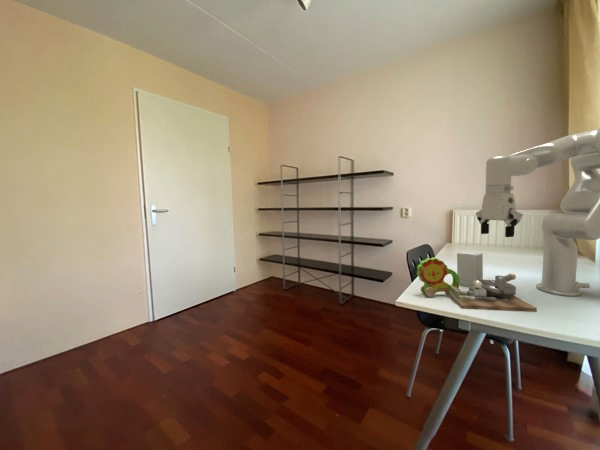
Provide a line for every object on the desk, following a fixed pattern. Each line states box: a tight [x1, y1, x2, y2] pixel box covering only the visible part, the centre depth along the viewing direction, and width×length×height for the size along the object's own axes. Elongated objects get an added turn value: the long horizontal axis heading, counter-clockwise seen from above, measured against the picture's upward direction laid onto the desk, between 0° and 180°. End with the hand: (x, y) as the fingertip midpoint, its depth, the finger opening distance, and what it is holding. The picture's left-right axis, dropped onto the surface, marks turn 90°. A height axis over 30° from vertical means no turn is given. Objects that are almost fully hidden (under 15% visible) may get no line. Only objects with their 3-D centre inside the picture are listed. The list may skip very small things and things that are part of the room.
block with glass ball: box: [468, 280, 486, 297], centre depth 94 cm, size 4×4×6 cm
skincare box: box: [456, 250, 484, 288], centre depth 111 cm, size 8×6×15 cm
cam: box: [479, 273, 517, 299], centre depth 97 cm, size 12×13×8 cm
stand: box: [444, 286, 537, 312], centre depth 94 cm, size 23×15×5 cm, turn 80°
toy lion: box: [416, 256, 462, 298], centre depth 101 cm, size 16×6×15 cm, turn 87°
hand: (496, 235), depth 96 cm, fingers open, 9 cm apart
